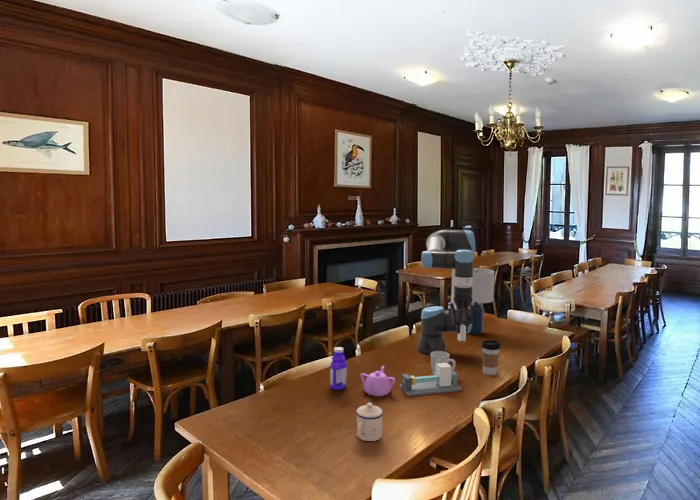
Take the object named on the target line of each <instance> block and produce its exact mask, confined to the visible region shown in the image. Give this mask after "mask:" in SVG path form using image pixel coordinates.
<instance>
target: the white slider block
mask: <svg viewBox="0 0 700 500" xmlns="http://www.w3.org/2000/svg"><path fill="white" fill-rule="evenodd" d="M451 371H452V366H451V364H450V363H449V364H448V363H438V364H436V374H435V375H439V381H435V382H436V383H439V386H440V387H442V386H451Z"/></svg>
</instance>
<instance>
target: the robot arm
mask: <svg viewBox="0 0 700 500" xmlns="http://www.w3.org/2000/svg"><path fill="white" fill-rule="evenodd" d="M475 239H476V238H475V234H474V232H473V231H472V230H467V229H441V230H437V231H434V232H432V233H431V234H430V235H429V236H427V239H426V241H425V245H426V248H427V250H425V251H424V250H423V251H422V252H421V261H420V262H421V263H420V265H421V267H422V268H424V269H425V268H428V269H450V270H451V271H452V272H451V296H450V297H451V300H450V301H449V302H448V303H447V306H448V307H447V309H445V308H444V307H443V306H439V305H435V306H427V307H425V308H423V309H422V310H421V316H420V319H421V322H420V323H421V324H420V337H419V339H418V341H417V342H418V343H417V349H416V350H417V351H418V352H419V353H422V354H426V355H431V352H434V351H443V352H447V345H446V342H445V340H444V339H445V338H444V333H453V334H457V338H456V339H457V340H458V341H459V342H462V341H463V342H466V336H467V334H469V332H470V331H471V327H472V322H473V317H474V312H475V308H476V306H477V304H478V303H477V302H476V301H474V300H473V299H472V287H471V286H472V284H473V268H474V260H475V258H474V254H475V253H476V240H475ZM470 304H471V305H470ZM469 305H470V307H469Z"/></svg>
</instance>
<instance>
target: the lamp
mask: <svg viewBox="0 0 700 500" xmlns="http://www.w3.org/2000/svg"><path fill="white" fill-rule="evenodd" d="M494 278H495V271H494V270H493V269H492V270H491V269H489V268H488V269H486V268H478V267H476V268H474V267H473V284H472V286H471V287H472V299H473V300H474V301H476V302H477V303H478V304H477V306H476V308H475V312H474V317H473V322H472V327H471V331H470V332H469V333H468V335H475V336H477V335H481V334H483V332H484V318H485V315H484V313H485V308H484V306H482V304H489V303H493V301H494V285H495V284H494V283H495V279H494ZM470 305H471V304H470ZM470 305H469V307H470Z"/></svg>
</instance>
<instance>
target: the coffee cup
mask: <svg viewBox="0 0 700 500" xmlns="http://www.w3.org/2000/svg"><path fill="white" fill-rule="evenodd" d="M481 348H482V350H481V355H482V356H481V357H482V358H481V359H482V372H483V374H484V375H488V376H495V375H496V374H497V371H498V365H499V359H500V358H499V357H500V349H501V342H500V341H499V340H496V339H495V340H494V339H492V340H491V339H490V340H489V339H487V340H483V341H482V342H481Z"/></svg>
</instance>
